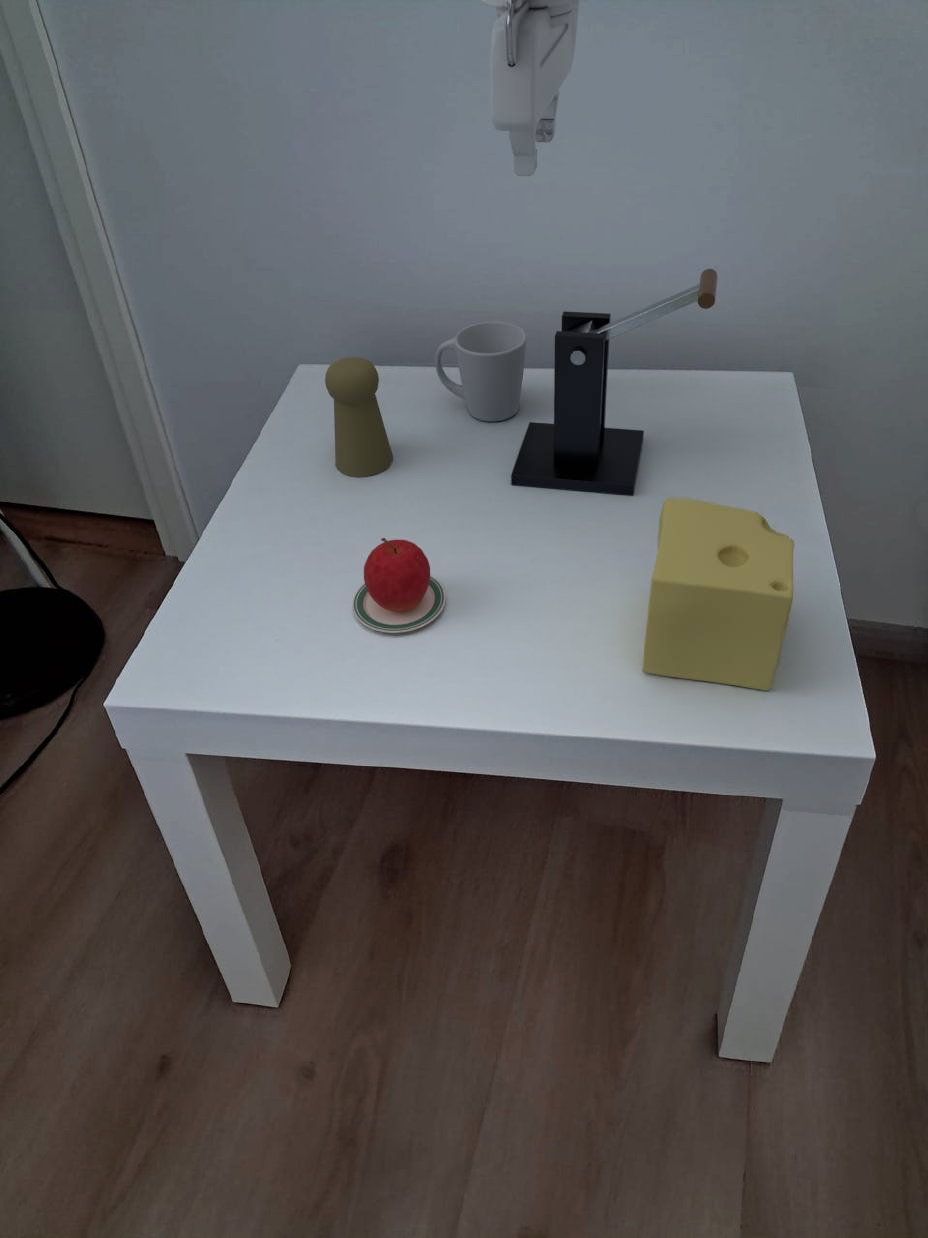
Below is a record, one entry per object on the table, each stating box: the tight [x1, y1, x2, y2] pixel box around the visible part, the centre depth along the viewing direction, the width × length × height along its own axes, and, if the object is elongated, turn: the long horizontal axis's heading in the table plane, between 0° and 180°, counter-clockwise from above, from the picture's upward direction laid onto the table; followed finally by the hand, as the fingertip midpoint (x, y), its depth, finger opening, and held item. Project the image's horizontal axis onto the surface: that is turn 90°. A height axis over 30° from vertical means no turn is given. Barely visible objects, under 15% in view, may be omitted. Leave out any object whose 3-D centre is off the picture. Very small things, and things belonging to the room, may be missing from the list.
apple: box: [352, 537, 447, 634], centre depth 78 cm, size 8×8×6 cm
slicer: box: [510, 310, 645, 497], centre depth 90 cm, size 12×10×15 cm
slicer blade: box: [567, 268, 718, 341], centre depth 83 cm, size 14×5×2 cm, turn 77°
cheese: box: [642, 497, 795, 691], centre depth 72 cm, size 10×11×10 cm
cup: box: [434, 321, 528, 423], centre depth 101 cm, size 8×10×8 cm
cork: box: [324, 356, 394, 478], centre depth 94 cm, size 6×6×11 cm
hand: (535, 155), depth 85 cm, fingers open, 8 cm apart
